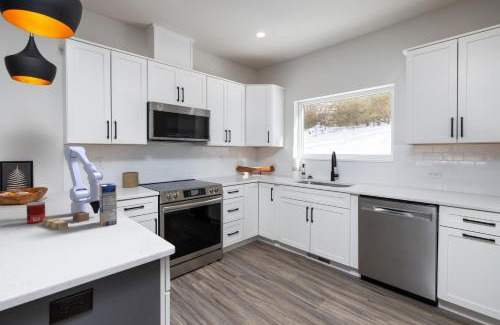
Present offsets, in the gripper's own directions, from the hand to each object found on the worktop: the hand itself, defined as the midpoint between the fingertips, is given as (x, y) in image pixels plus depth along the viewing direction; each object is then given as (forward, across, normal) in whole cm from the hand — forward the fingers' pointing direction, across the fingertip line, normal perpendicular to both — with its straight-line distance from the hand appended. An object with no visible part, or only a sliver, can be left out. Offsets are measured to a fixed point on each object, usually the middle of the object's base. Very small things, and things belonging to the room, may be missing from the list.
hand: (95, 213), depth 152 cm
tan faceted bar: (+2, -22, -1) cm, 22 cm away
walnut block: (+3, -8, 0) cm, 9 cm away
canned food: (+2, -24, +17) cm, 29 cm away
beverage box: (+3, -4, -19) cm, 19 cm away
